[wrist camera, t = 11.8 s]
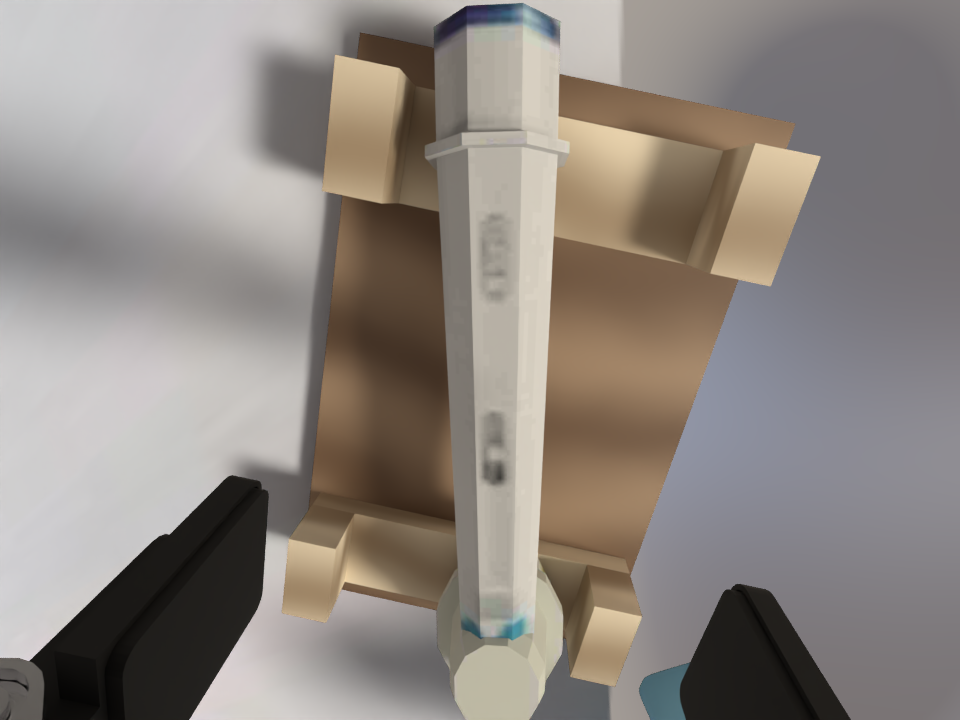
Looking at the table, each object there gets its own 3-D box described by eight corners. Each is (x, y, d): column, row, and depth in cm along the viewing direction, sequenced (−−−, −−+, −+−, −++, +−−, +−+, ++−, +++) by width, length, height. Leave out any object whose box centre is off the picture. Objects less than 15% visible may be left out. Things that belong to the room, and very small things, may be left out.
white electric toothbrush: (595, -8, 13) (570, 799, 17) (569, 87, 20) (556, 654, 24) (396, 2, 13) (420, 788, 18) (436, 92, 20) (447, 648, 24)
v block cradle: (367, 40, 19) (323, -6, 15) (781, 127, 19) (858, 105, 15) (308, 566, 27) (268, 636, 22) (600, 631, 27) (616, 713, 22)
